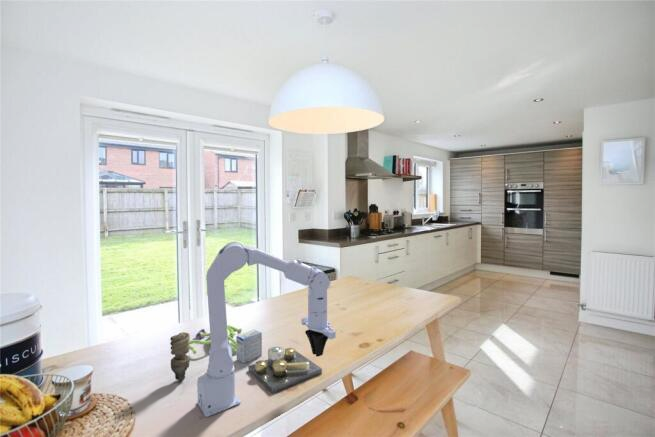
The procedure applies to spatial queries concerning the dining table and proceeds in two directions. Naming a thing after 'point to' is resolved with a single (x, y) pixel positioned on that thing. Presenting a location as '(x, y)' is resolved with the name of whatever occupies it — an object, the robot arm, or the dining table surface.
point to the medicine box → (249, 345)
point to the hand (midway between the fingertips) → (317, 354)
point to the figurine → (204, 334)
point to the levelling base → (276, 383)
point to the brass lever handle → (288, 367)
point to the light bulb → (180, 354)
